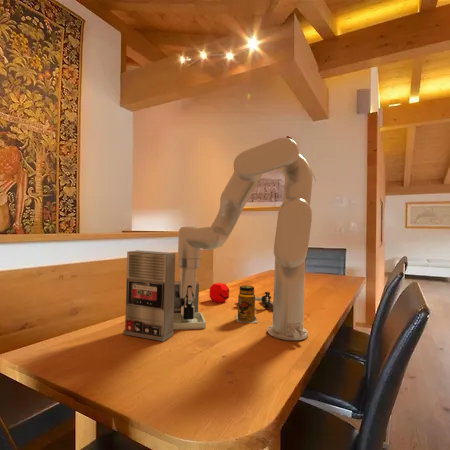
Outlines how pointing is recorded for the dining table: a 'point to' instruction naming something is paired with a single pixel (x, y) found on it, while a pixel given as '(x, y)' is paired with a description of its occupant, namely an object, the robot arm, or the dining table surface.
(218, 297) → the ball
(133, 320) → the cassette tape recorder
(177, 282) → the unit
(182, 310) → the cylinder
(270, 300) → the valve rest
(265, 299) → the valve
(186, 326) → the tray
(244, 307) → the condiment
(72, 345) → the dining table surface
